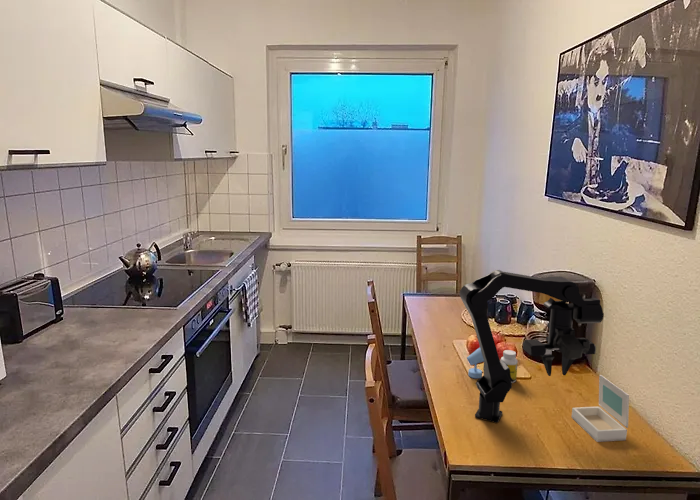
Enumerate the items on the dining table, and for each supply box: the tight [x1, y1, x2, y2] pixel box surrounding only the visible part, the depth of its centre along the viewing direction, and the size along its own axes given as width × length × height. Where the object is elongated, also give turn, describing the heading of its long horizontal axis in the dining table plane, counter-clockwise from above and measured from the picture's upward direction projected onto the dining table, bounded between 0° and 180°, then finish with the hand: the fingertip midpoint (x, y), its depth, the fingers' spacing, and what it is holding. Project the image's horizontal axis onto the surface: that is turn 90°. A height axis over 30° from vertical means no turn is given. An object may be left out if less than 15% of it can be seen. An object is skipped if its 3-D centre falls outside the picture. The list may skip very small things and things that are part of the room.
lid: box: [598, 374, 630, 429], centre depth 128 cm, size 9×12×1 cm
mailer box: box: [571, 405, 628, 443], centre depth 129 cm, size 8×12×3 cm, turn 5°
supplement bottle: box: [500, 349, 519, 384], centre depth 157 cm, size 5×5×10 cm
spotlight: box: [466, 346, 484, 379], centre depth 160 cm, size 5×10×7 cm
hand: (556, 375), depth 134 cm, fingers open, 4 cm apart
